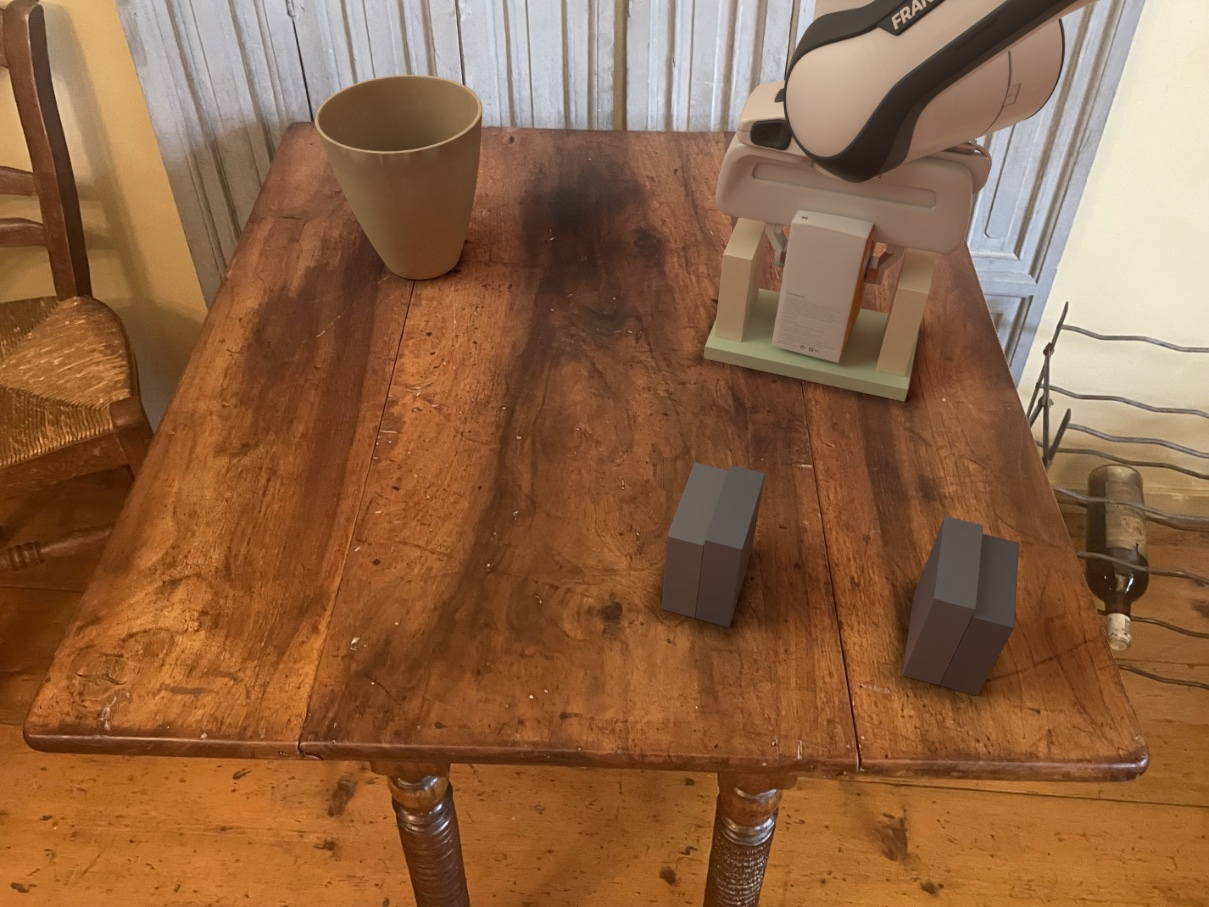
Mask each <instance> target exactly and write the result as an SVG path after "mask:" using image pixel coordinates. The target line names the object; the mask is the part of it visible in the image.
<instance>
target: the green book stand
mask: <svg viewBox="0 0 1209 907" xmlns="http://www.w3.org/2000/svg"><path fill="white" fill-rule="evenodd" d="M765 227H766V222H762V221H756V220H751V219H745V218H740V217H738V219H737V222H736V223H735V226H734V228H733V230H732V233H731V236H730V238H729V240H728V241H727V242H728V243H727V245H726V247H725V249H724V252H723V254H722V263H721V272H720V281H719V290H718V300H717V310H716V317H715V321H714V322H713V326H712V328H711V330H710V333H709V335H708V338H707V340H706V343H705V345H704V351H703V352H704V353H703V359H704V360H710V361H714V362H718V363H719V362H720V363H723V364H728V365H732V366H736V367H741V368H742V367H743V368H746V369H750V370H754V371H755V370H756V371H759V372H764V373H769V374H774V375H779V376H783V377H788V378H793V379H797V380H802V381H807V382H812V383H816V384H821V385H826V386H830V387H835V388H839V389H842V390H843V389H844V390H849V391H853V392H857V393H862V394H865V395H872V396H876V397H881V398H886V399H890V400H895V401H900V402H902V403H903V402H906V398H907V396H908V392H909V388H910V383H911V377H912V372H913V366H914V360H915V355H916V348H917V343H918V338H919V333H920V326H921V323H922V320H923V316H924V313H925V310H926V306H927V303H928V299H929V296H930V292H931V286H932V282H933V276H934V270H935V264H936V259H937V253H934V252H929V251H923V250H918V249H912V248H906V247H905V248H904V252H903V256H902V257H903V258H902V262H901V264H900V268H899V272H898V276H897V281H896V284H895V287H894V292H893V294H892V295H893V296H892V299H891V303H890V307H889V309H888V313H886V312H883V311H878V310H877V311H876V310H872V309H868V308H867V309H866V308H862V307H861V308H860V312H859V314H858V317H857V319H856V321H855V324H854V326H853V328H852V331H851V333H850V335H849V338H848V341H847V343H846V346H845V348H844V351H843V354H842V357H841V360H840V362H839V363H836V362H833V361H828V360H825V359H820V358H816V357H813V356H809V355H805V354H801V353H797V352H794V351H790V350H786V349H782V348H779V347H775V346H772V339H773V333H774V327H775V321H776V316H777V310H778V304H779V298H780V292H781V291H777V290H776V291H775V290H771V289H770V290H769V289H765V288H760V286H761V278H762V270H763V264H764V258H765V250H766V244H767V243H766V242H767V238H768V237H767V235H766V233H765Z"/></svg>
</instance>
